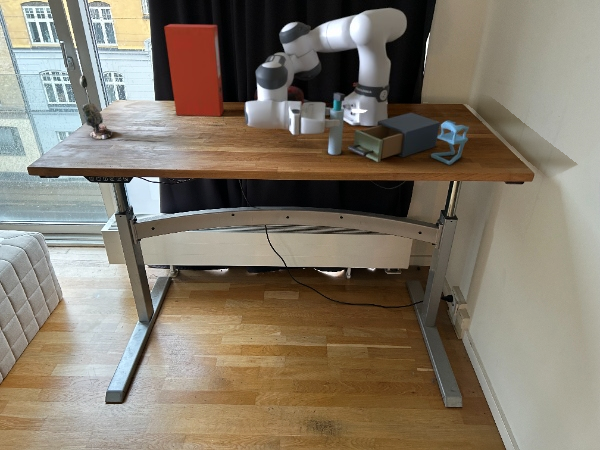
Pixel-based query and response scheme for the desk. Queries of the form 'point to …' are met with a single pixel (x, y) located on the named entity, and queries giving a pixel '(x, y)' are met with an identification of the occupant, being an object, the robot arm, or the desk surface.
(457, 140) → the chair
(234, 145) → the desk surface
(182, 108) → the file binder
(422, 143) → the cabinet
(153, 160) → the desk surface
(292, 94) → the red flat cylinder
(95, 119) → the plant with pod
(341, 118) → the spray bottle
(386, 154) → the drawer
